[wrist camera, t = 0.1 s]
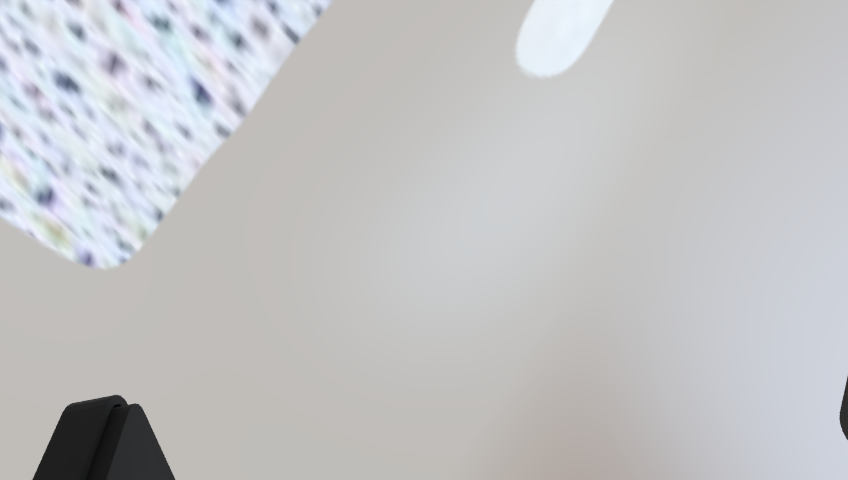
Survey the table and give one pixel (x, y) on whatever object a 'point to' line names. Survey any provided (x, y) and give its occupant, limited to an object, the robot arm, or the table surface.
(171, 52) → the table surface
